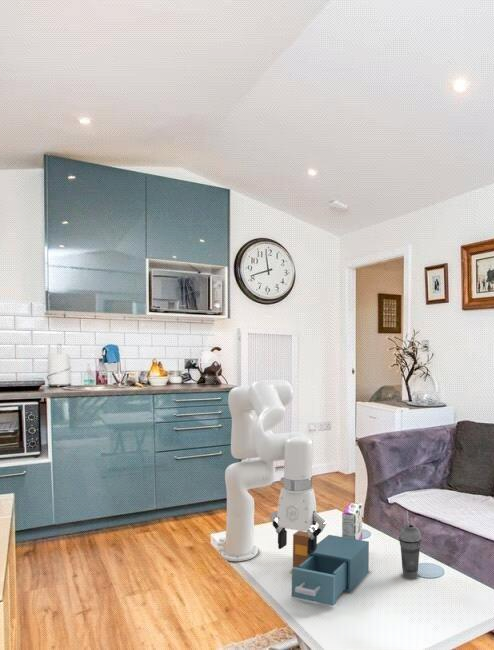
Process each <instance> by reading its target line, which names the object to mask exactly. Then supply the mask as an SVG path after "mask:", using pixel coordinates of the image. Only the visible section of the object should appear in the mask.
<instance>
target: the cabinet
mask: <svg viewBox="0 0 494 650" xmlns="http://www.w3.org/2000/svg"><path fill="white" fill-rule="evenodd" d="M312 555H316V556H321V557H326V558H332V559H337V560H342V561H347V562H348V586H347V587H346V589H345V590H344V591H343V592H345V593H349V594H350V593H352V592H353V590H355V588H356V587H357V586H358V585H359V583H360V582H361V581H362V580H363V579H364V578H365V577H366V575H368V573H369V572H370V571H369V570H370V567H369V565H370V561H369V560H370V558H369V557H370V541H368V540H363V539H362V540H357V539H351V538H345V537H342V536H338V535H332V534H328V535H327V536H325V537H324V538H323V539H321V540H320V541H319V542H317V548H316V550H315V551H314V552H313V553H312V554H311V555H310V554H308V558H309V557H310V556H312Z"/></svg>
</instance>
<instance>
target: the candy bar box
mask: <svg viewBox="0 0 494 650" xmlns="http://www.w3.org/2000/svg"><path fill="white" fill-rule="evenodd" d="M341 516H342V517H341V519H342V520H341V521H342V523H341V524H342V525H341V527H342V528H341V534H342V535H341V537H345V538H351V539H357V540H363V504H362V503H357V502H355V503H354V502H350V503H348V505H347V506H346V507H345V509H344V511H343V512H342V514H341Z"/></svg>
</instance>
